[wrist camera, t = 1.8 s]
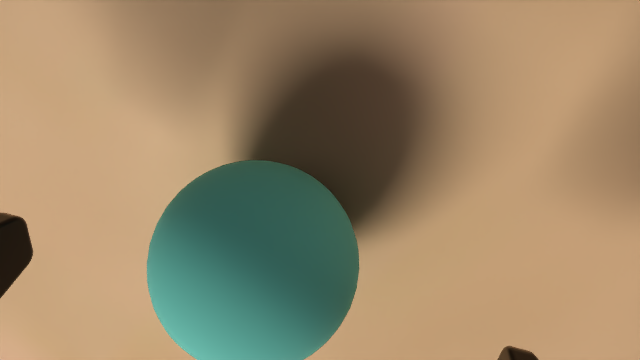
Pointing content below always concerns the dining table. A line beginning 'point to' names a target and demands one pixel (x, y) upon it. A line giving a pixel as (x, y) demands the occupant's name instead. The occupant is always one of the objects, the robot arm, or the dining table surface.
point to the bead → (253, 264)
